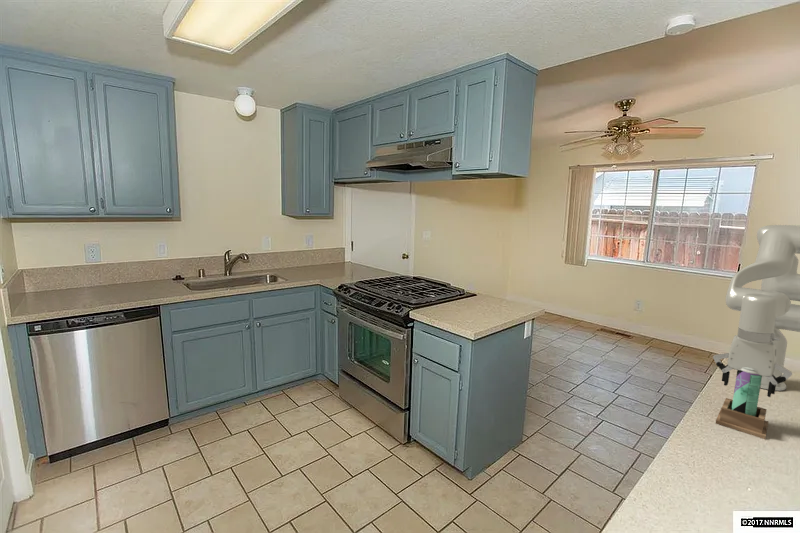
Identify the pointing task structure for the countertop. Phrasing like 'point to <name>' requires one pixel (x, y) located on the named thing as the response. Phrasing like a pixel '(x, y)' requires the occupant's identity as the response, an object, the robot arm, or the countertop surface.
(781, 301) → the robot arm
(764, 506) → the countertop surface
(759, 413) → the can holder
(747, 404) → the spray can
